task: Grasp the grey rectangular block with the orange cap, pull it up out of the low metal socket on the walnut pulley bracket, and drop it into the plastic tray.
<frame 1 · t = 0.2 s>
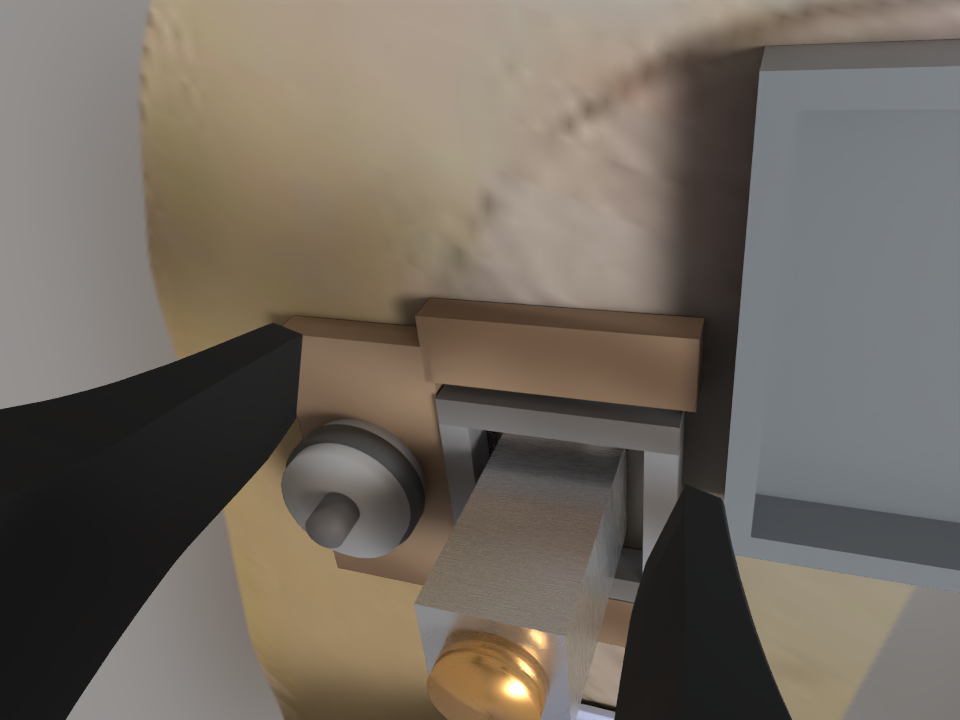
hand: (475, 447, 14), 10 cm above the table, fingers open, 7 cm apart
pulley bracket: (498, 467, 28), on the table
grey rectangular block: (568, 477, 27), resting in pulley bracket
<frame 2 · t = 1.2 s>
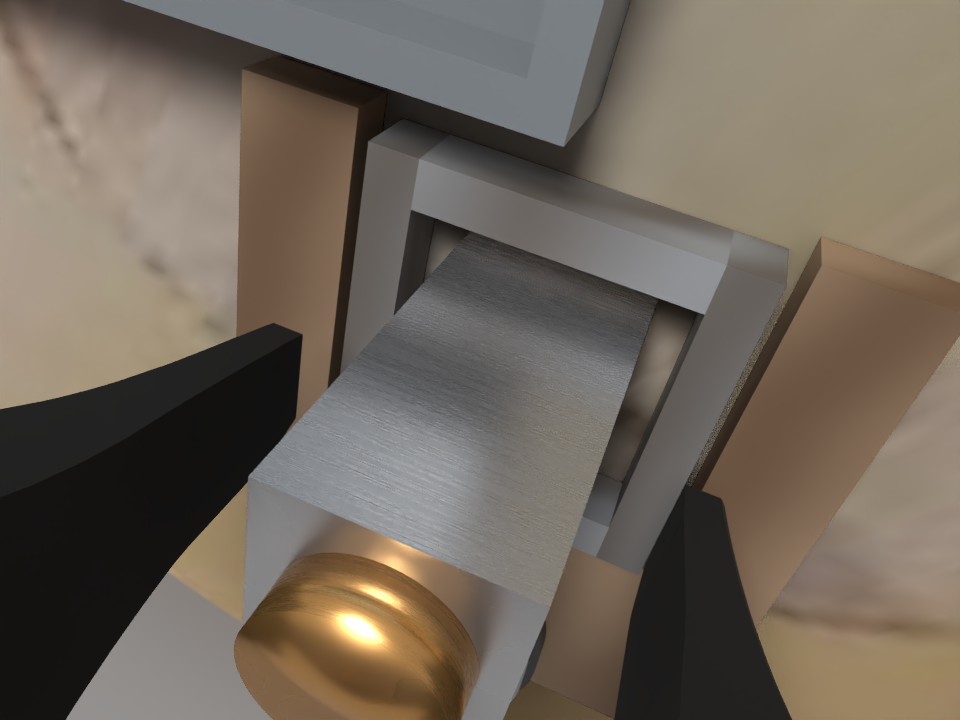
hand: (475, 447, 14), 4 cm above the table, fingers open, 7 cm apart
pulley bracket: (512, 428, 18), on the table
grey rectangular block: (538, 342, 17), resting in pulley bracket
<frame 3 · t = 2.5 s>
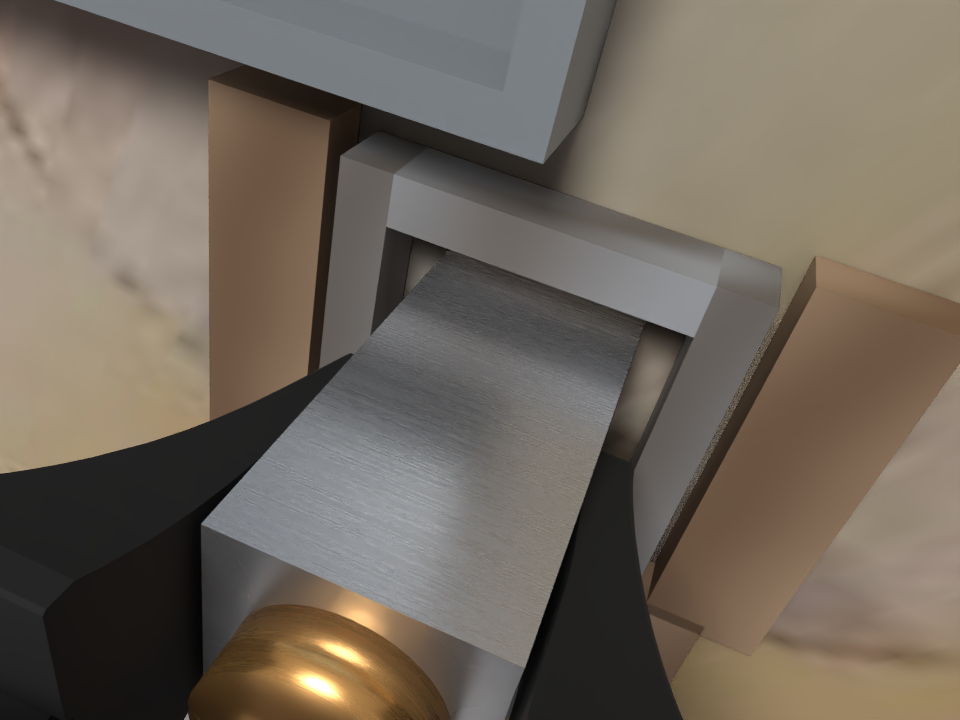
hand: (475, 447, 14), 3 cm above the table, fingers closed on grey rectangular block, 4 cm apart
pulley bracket: (496, 449, 18), on the table
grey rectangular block: (522, 362, 16), resting in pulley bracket, touching gripper
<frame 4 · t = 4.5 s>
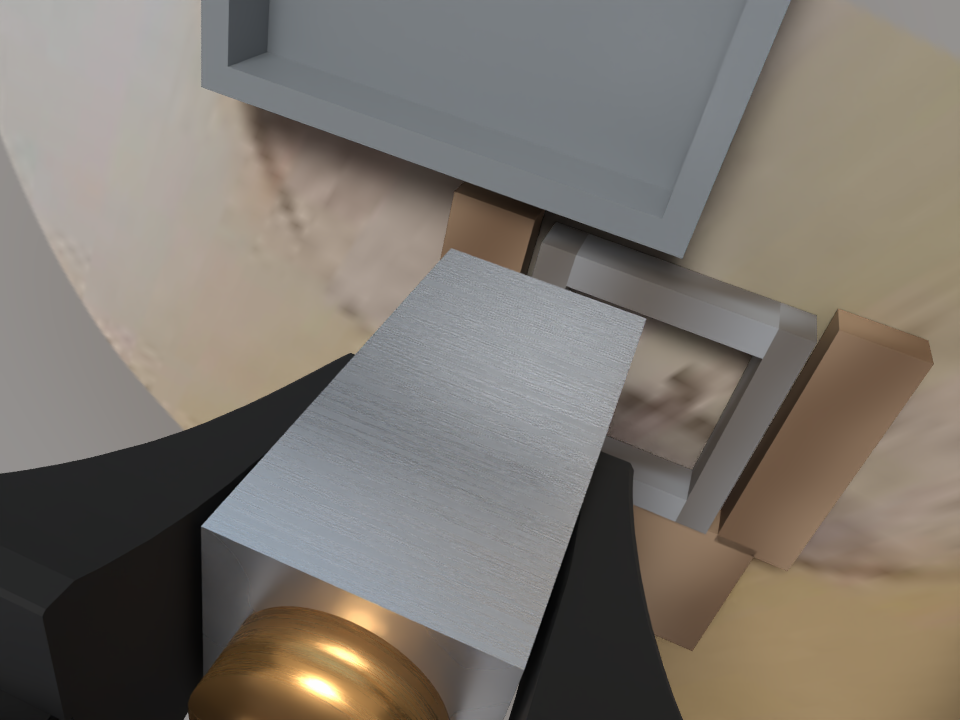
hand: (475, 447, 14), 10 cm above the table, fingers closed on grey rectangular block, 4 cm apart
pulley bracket: (613, 430, 26), on the table
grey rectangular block: (522, 363, 16), point 8 cm above the table, touching gripper
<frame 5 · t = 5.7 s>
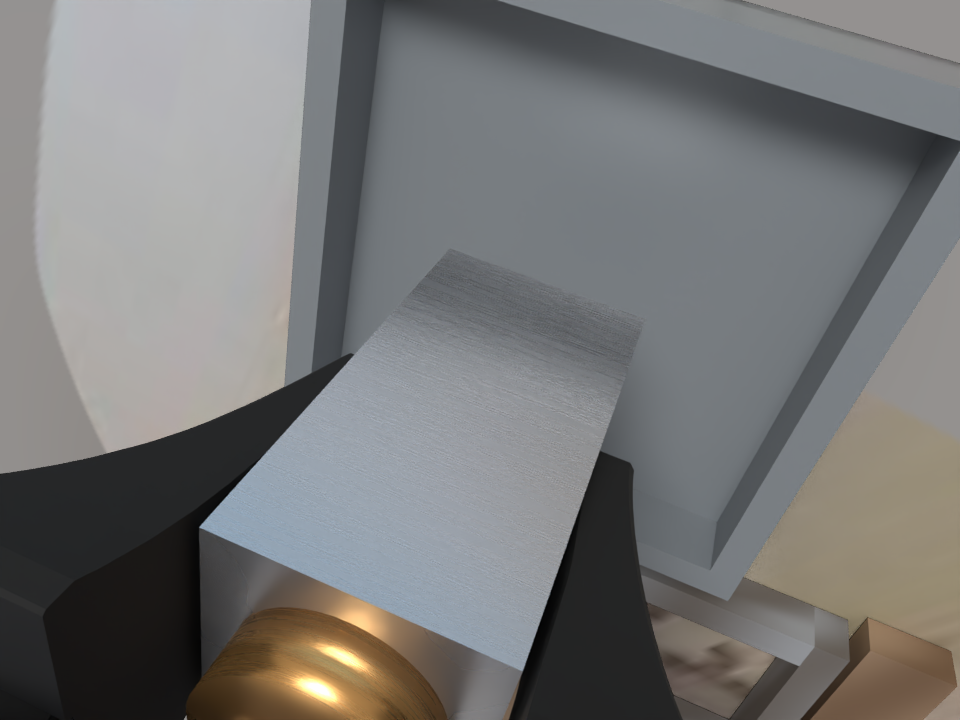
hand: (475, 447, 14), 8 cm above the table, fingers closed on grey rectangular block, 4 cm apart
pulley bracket: (655, 681, 28), on the table
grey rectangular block: (521, 364, 16), point 5 cm above the table, touching gripper
tray: (580, 262, 20), on the table
when the fingers open (5 cm above the table, at t = 6.6 s): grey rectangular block drops 1 cm, resting on tray.
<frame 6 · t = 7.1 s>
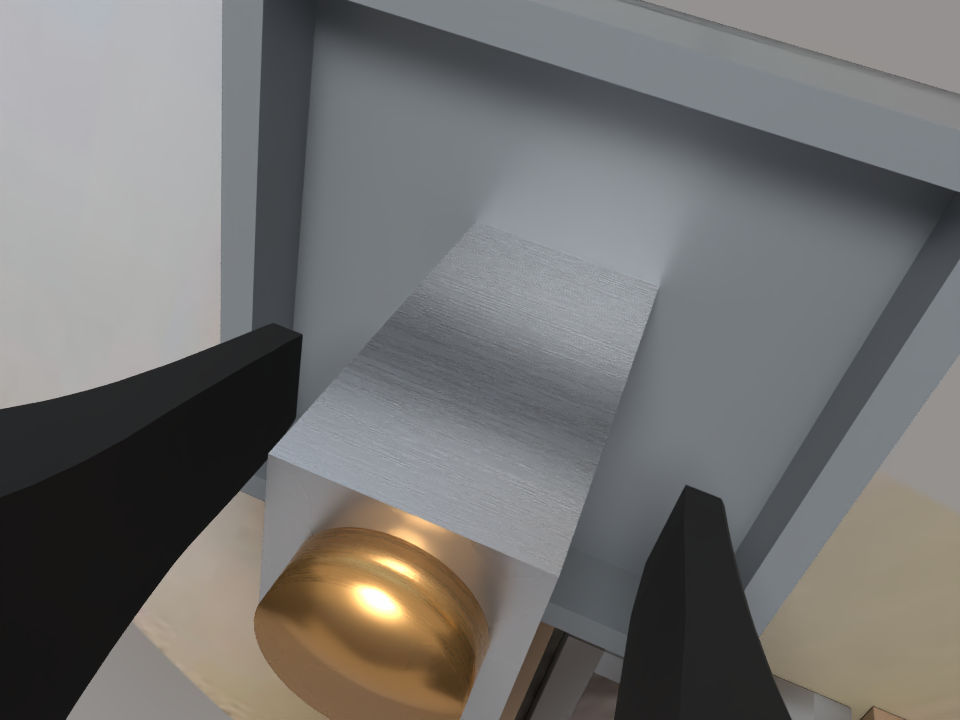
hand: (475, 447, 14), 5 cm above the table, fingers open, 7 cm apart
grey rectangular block: (541, 331, 17), point 1 cm above the table, touching tray
tray: (548, 317, 18), on the table
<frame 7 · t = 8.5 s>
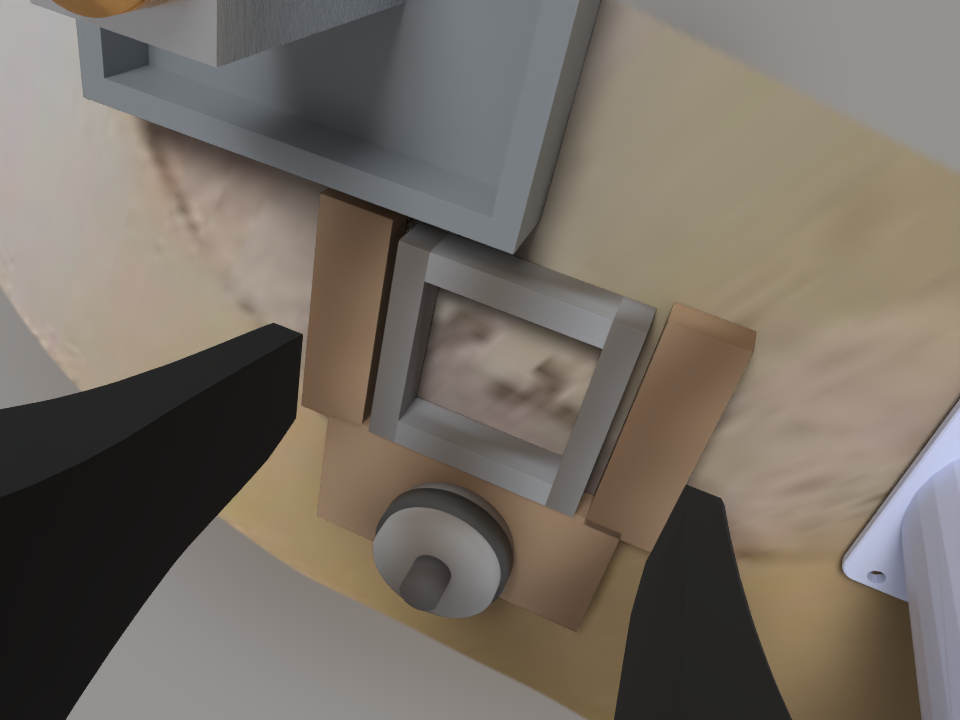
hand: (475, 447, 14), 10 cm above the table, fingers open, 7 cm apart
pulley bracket: (490, 420, 27), on the table
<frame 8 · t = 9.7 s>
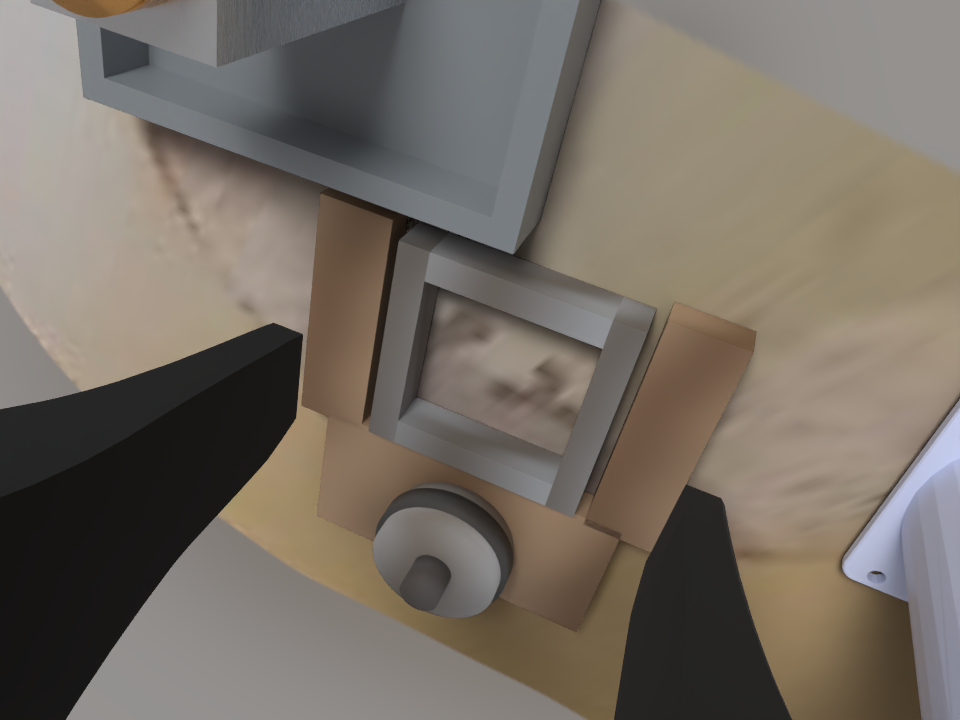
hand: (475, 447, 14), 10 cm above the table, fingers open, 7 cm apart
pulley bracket: (490, 420, 27), on the table
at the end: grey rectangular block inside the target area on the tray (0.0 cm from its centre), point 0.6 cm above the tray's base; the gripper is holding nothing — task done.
